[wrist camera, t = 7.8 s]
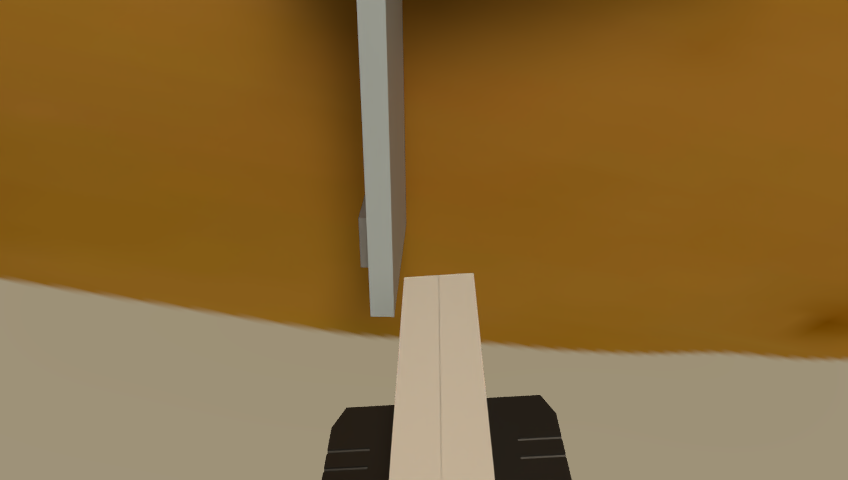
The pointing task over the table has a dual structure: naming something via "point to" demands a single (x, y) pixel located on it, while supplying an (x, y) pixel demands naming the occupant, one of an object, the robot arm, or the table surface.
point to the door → (382, 149)
